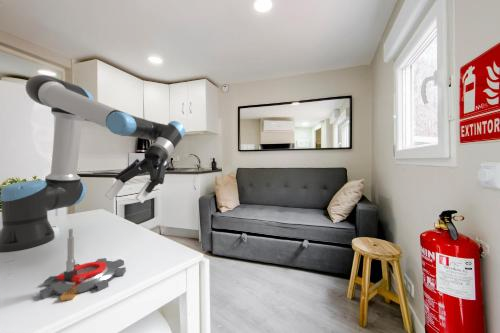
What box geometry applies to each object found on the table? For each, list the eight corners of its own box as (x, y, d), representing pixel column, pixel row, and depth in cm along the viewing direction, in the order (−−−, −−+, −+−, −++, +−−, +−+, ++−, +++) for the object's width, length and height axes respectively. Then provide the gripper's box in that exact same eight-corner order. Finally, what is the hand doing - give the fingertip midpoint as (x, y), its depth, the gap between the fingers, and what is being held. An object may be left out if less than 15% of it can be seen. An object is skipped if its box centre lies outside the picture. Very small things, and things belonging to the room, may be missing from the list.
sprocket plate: (29, 285, 52) (29, 280, 52) (107, 256, 67) (107, 253, 67) (55, 311, 43) (55, 305, 43) (138, 271, 58) (138, 267, 58)
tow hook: (88, 264, 60) (53, 281, 51) (88, 220, 60) (53, 229, 51) (113, 266, 59) (81, 284, 50) (113, 221, 59) (81, 230, 50)
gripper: (190, 158, 76) (160, 208, 63) (141, 159, 86) (105, 202, 72) (180, 143, 71) (145, 194, 58) (129, 145, 80) (88, 189, 67)
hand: (123, 199), depth 65 cm, fingers open, 13 cm apart
